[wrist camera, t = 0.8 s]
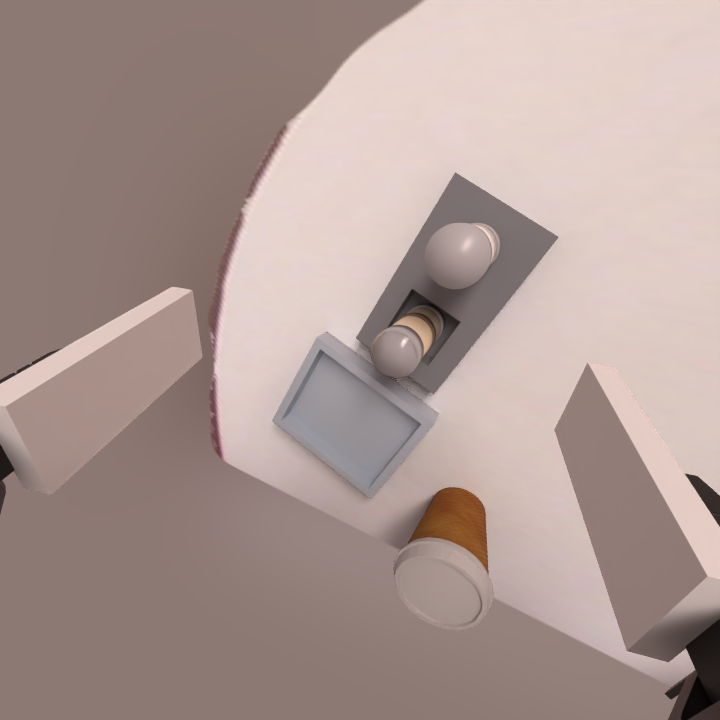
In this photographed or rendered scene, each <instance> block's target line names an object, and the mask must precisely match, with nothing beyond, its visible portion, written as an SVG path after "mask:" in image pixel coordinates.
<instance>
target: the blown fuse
mask: <svg viewBox="0 0 720 720" xmlns="http://www.w3.org/2000/svg"><path fill="white" fill-rule="evenodd" d="M444 328H445V318H444V315H443V313H442V312H441V310H440V309H439V308H437V307H436V306H434V305H432V304H427V303H424V304H419V305H417V306H415V307H414V308H413V309H411V310H410V311H409V312H408V313H407V314H406V315H404V316H403V317H402V318H400V319H399V320H398V321H397V322H396V323H395V324H393V325H392V326H390V327H388V328H386V329H385V330H384V331H382V332H381V333H380V334H378V335H377V336H376V337H375V339H374V340H373V342H372V345H371V358H372V361H373V363H374V365H375V366H376V368H377V369H378V370H379V371H380V372H382V373H383V374H385V375H387V376H389V377H393V378H401V377H405V376H407V375H409V374H411V373H412V372H413V371H414V370H415V368H416V367H417V366H418V364H419V363H420V362H421V360H422V358H423V356H424V355H425V353H426V352H427V351H428V350H429V349H430V348H431V346H432V345H433V343H434V342H435V341H436V340H437V339H438V338H439V337H440V335H441V334H442V332H443V331H444Z"/></svg>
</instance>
